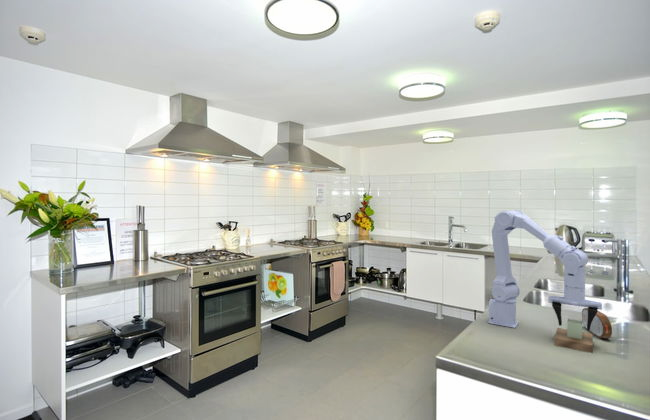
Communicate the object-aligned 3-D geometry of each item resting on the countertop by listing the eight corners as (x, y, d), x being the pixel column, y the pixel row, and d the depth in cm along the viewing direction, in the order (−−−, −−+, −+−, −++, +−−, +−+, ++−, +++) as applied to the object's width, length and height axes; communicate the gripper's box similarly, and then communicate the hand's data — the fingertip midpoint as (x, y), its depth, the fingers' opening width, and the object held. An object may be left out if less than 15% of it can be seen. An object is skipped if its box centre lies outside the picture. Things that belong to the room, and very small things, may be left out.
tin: (613, 342, 119) (613, 317, 119) (602, 341, 120) (602, 316, 120) (589, 327, 134) (589, 305, 134) (579, 326, 135) (580, 304, 135)
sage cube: (567, 336, 118) (567, 321, 118) (567, 333, 121) (567, 318, 121) (582, 339, 115) (582, 324, 115) (582, 335, 119) (582, 320, 119)
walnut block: (554, 347, 117) (554, 338, 117) (557, 336, 126) (557, 327, 126) (592, 354, 111) (592, 345, 111) (592, 342, 120) (592, 333, 120)
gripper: (547, 285, 119) (547, 325, 119) (602, 292, 111) (601, 335, 111) (549, 282, 125) (549, 320, 125) (601, 287, 116) (601, 328, 117)
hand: (574, 327), depth 118 cm, fingers open, 7 cm apart
